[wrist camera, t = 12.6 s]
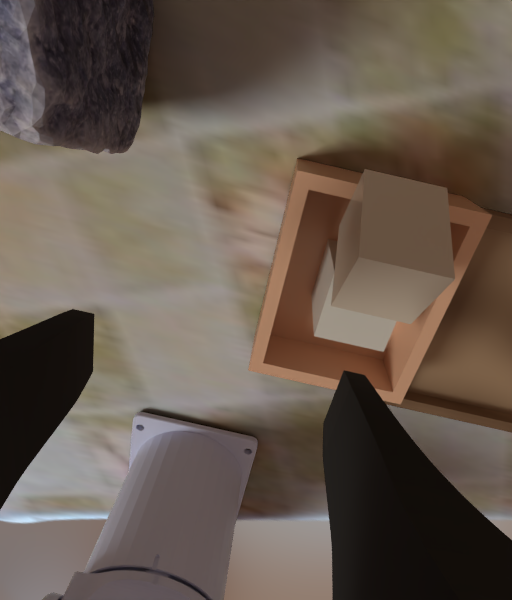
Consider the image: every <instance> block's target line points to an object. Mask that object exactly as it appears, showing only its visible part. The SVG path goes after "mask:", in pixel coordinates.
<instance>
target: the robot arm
mask: <svg viewBox="0 0 512 600" xmlns="http://www.w3.org/2000/svg"><path fill="white" fill-rule="evenodd" d="M93 345H94V314H92V313H88V312H83V311H79V310H74V309H72V310H69V311H67V312H64V313H61V314H59V315H57V316H54V317H52V318H49V319H47V320H45V321H42V322H40V323H38V324H36V325H33V326H31V327H28V328H26V329H24V330H21V331H19V332H17V333H14V334H12V335H10V336H7V337H5V338H2V339H0V509H1V508H2V506H3V504H4V503H5V501H6V499H7V498H8V496H9V494H10V493H11V491H12V490H13V488H14V486H15V485H16V483H17V481H18V480H19V479H20V477H21V476H22V474H23V473H24V471H25V470H26V468H27V467H28V466H29V464H30V463H31V462H32V460H33V459H34V458H35V456H36V455H37V454H38V452H39V451H40V450H41V448H42V447H43V446H44V444H45V443H46V442H47V440H48V439H49V438H50V436H51V435H52V434H53V432H54V431H55V430H56V428H57V427H58V426H59V424H60V423H61V422H62V420H63V419H64V418H65V416H66V415H67V414H68V412H69V411H70V409H71V408H72V407H73V405H74V404H75V403H76V401H77V399H78V398H79V396H80V394H81V392H82V391H83V389H84V387H85V385H86V383H87V382H88V380H89V378H90V376H91V374H92V372H93ZM140 425H143V426H140ZM257 446H258V441H257V439H256V438H255V437H252V436H248V435H243V434H239V433H234V432H230V431H225V430H221V429H217V428H212V427H208V426H203V425H199V424H194V423H190V422H185V421H181V420H176V419H172V418H167V417H163V416H158V415H154V414H149V413H145V412H138V413H136V414H135V416H134V419H133V427H132V439H131V450H130V462H129V472H128V474H127V476H126V479H125V481H124V483H123V485H122V488H121V490H120V492H119V494H118V496H117V499H116V501H115V503H114V505H113V508H112V510H111V512H110V514H109V516H108V519H107V521H106V523H105V525H104V528H103V530H102V532H101V534H100V536H99V539H98V541H97V543H96V545H95V548H94V550H93V552H92V554H91V557H90V559H89V561H88V563H87V566H86V568H85V570H84V572H75V573H74V575H73V577H72V579H71V581H70V583H69V586H68V588H67V590H66V592H65V594H64V595H61V594H57V593H50V594H48V595H47V596H45V597H44V598H43V599H42V600H224V593H225V587H226V581H227V574H228V567H229V560H230V554H231V547H232V540H233V534H234V527H235V523H236V520H237V516H238V513H239V509H240V506H241V502H242V499H243V495H244V492H245V488H246V485H247V482H248V478H249V475H250V471H251V468H252V464H253V461H254V457H255V454H256V450H257ZM247 449H251V450H247ZM323 464H324V474H325V483H326V493H327V502H328V511H329V520H330V530H331V541H332V569H333V570H332V571H333V572H332V573H333V575H332V578H333V579H332V581H333V600H512V540H511V539H510V538H509V537H507V536H506V535H505V534H504V533H503V532H502V531H500V530H499V529H498V528H497V527H496V526H495V525H494V524H493V523H491V522H490V521H489V520H488V519H487V518H486V517H485V516H484V515H483V514H482V513H480V512H479V511H478V510H477V509H476V508H475V507H474V506H473V505H472V504H471V503H470V502H469V501H468V500H467V499H466V498H465V497H464V496H463V495H462V494H461V493H460V492H459V491H458V490H457V489H456V488H455V487H454V486H453V485H452V484H451V483H450V482H449V481H448V480H447V479H446V478H445V477H444V476H443V475H442V474H441V473H440V472H439V470H438V469H437V468H436V467H435V466H434V465H433V464H432V463H431V462H430V460H429V459H428V458H427V457H426V456H425V454H424V453H423V452H422V451H421V450H420V448H419V447H418V446H417V445H416V444H415V442H414V441H413V440H412V439H411V437H410V436H409V435H408V434H407V432H406V431H405V430H404V428H403V427H402V426H401V424H400V423H399V422H398V420H397V419H396V418H395V416H394V415H393V414H392V412H391V411H390V409H389V408H388V407H387V405H386V404H385V402H384V401H383V400H382V398H381V397H380V395H379V394H378V393H377V391H376V390H375V388H374V387H373V385H372V384H371V383H370V381H369V380H368V378H367V377H366V376H365V375H363V374H359V373H354V372H350V371H345V370H344V371H343V373H342V376H341V379H340V381H339V384H338V386H337V389H336V392H335V394H334V397H333V400H332V402H331V405H330V408H329V410H328V413H327V415H326V418H325V421H324V425H323Z"/></svg>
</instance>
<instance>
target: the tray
mask: <svg viewBox="0 0 512 600" xmlns="http://www.w3.org/2000/svg"><path fill="white" fill-rule="evenodd" d="M480 208H481V207H480ZM482 209H484V210H485V211H487V212H488V213H490V214H491V215H492V217H491V219H490V221H489V223H488V225H487V228H486V230H485V232H484V234H483V236H482V238H481V240H480V242H479V244H478V246H477V248H476V250H475V252H474V254H473V256H472V258H471V260H470V263H469V265H468V267H467V269H466V271H465V273H464V275H463V277H462V279H461V281H460V283H459V285H458V287H457V289H456V291H455V293H454V295H453V298H452V300H451V302H450V304H449V306H448V308H447V310H446V312H445V314H444V316H443V318H442V320H441V322H440V324H439V326H438V328H437V330H436V333H435V335H434V337H433V339H432V341H431V343H430V345H429V347H428V349H427V351H426V353H425V355H424V357H423V359H422V361H421V363H420V366H419V368H418V370H417V372H416V374H415V376H414V378H413V380H412V382H411V384H410V386H409V388H408V390H407V392H406V394H405V396H404V398H403V401H402V403H401V405H400V404H396V403H392V402H387V401H384V402H385V404H388V405H392V406H397V407H401V408H406V409H410V410H415V411H419V412H424V413H428V414H432V415H437V416H441V417H446V418H450V419H455V420H459V421H464V422H468V423H473V424H477V425H481V426H486V427H490V428H495V429H499V430H504V431H508V432H512V215H511V214H507V213H502V212H498V211H494V210H489V209H485V208H482Z"/></svg>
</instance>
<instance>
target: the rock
mask: <svg viewBox="0 0 512 600" xmlns="http://www.w3.org/2000/svg"><path fill="white" fill-rule="evenodd" d="M153 17H154V8H153V0H0V130H1V131H3V132H5V133H8V134H10V135H12V136H15V137H17V138H19V139H22V140H25V141H28V142H31V143H34V144H40V145H49V146H62V147H65V148H71V149H82V150H88V151H90V152H93V153H96V154H98V153H100V152H102V151H103V150H104V151H106V152H108V153H111V154H113V153H124V152H126V151H127V150H128V149H129V148H130V146H131V145H132V143H133V140H134V138H135V135H136V132H137V130H138V128H139V124H140V118H141V110H142V100H143V96H144V93H145V80H146V77H147V66H148V53H149V47H150V41H151V37H152V31H153Z"/></svg>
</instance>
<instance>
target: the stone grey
mask: <svg viewBox="0 0 512 600" xmlns="http://www.w3.org/2000/svg"><path fill="white" fill-rule="evenodd" d="M337 243H338V241H335V240H330V239H328V241H327V244H326V247H325V251H324V254H323V257H322V261H321V264H320V267H319V271H318V274H317V277H316V281H315V284H314V287H313V291H312V294H311V296H312V312H313V329H314V336H315V337H320V338H324V339H328V340H333V341H337V342H342V343H346V344H351V345H355V346H360V347H364V348H369V349H373V350H377V351H382V352H384V350H385V348H386V345H387V343H388V340H389V338H390V336H391V333H392V331H393V329H394V326H395V324H396V322H397V321H394V320H390V319H386V318H381V317H377V316H372V315H368V314H364V313H359V312H355V311H350V310H346V309H342V308H337V307H333V306H331V300H332V291H333V281H334V272H335V262H336V253H337Z"/></svg>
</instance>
